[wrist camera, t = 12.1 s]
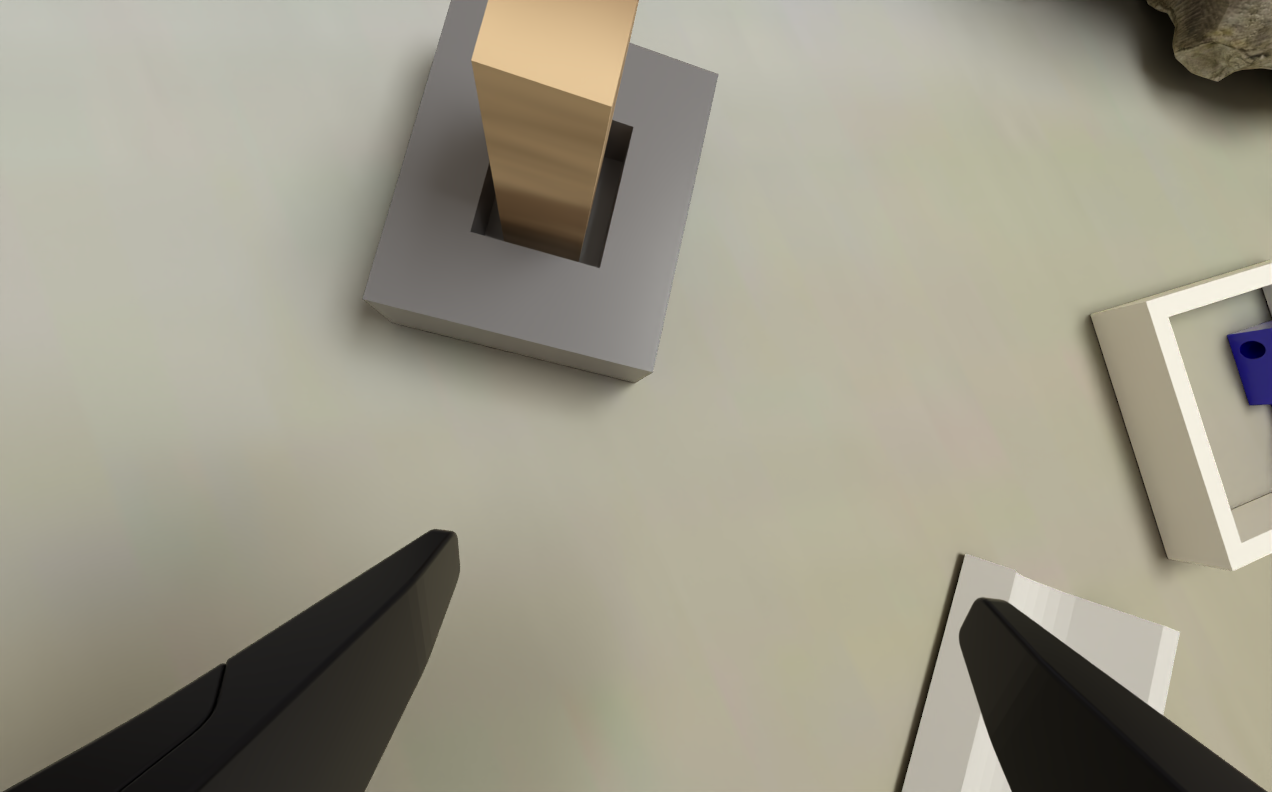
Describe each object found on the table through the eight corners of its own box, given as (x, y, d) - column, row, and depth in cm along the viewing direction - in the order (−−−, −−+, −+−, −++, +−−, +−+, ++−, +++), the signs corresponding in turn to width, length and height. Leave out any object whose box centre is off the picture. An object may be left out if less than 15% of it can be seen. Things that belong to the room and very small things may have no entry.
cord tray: (1168, 558, 26) (1233, 571, 24) (1090, 314, 27) (1145, 301, 24) (1340, 482, 29) (1414, 486, 26) (1267, 260, 29) (1333, 244, 27)
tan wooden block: (578, 263, 21) (611, 106, 11) (504, 242, 20) (471, 60, 11) (600, 172, 21) (650, -53, 12) (528, 150, 21) (518, -105, 11)
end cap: (635, 383, 22) (652, 372, 19) (392, 322, 20) (362, 298, 17) (692, 127, 23) (718, 74, 20) (469, 53, 22) (456, -19, 18)
